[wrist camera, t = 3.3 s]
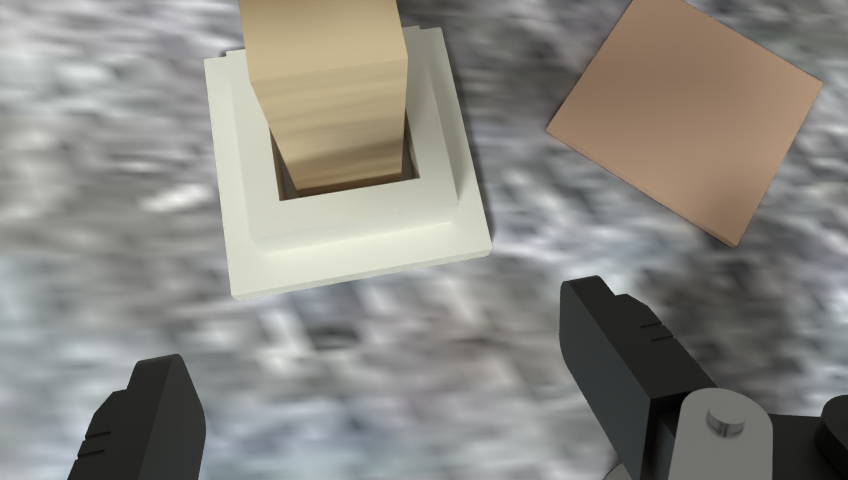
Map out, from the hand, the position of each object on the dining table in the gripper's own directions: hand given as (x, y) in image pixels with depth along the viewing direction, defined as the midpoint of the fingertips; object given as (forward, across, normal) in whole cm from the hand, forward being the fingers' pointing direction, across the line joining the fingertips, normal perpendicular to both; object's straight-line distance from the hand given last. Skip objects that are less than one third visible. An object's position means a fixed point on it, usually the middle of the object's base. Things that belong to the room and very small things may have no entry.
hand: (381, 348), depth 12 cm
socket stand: (+21, 0, +4) cm, 21 cm away
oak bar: (+20, 0, +3) cm, 20 cm away
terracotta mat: (+21, -20, +4) cm, 29 cm away
